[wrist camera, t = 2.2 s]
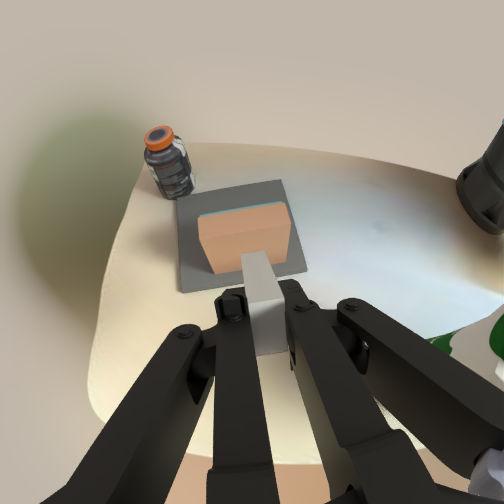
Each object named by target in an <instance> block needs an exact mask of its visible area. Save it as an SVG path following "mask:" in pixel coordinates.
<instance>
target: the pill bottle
mask: <svg viewBox="0 0 504 504" xmlns="http://www.w3.org/2000/svg"><path fill="white" fill-rule="evenodd" d="M144 141H145V143H146V146H147V147H146V149H145V152H144V158H145V161H146V163H147V165H148V167H149V169H150V171H151V173H152V175H153V177H154V179H155V182H156V184H157V186H158V188H159V190H160V192H161V194H162V195H163V196H164V197H165V198H167V199H169V200H177V198H178V197H183V196H187V195H189V194H190V193H191V192H192V190H193V189H194V187H195V177H194V174H193V171H192V168H191V165H190V162H189V159H188V155H187V152H186V149H185V146H184V143H183V141H182V140H181V138H179V137H178V136H175V135H174V134H173V131H172V129H171V128H170V127H168V126H159V127H156V128H154V129H152V130H150V131H149V132H148V133H147V134H146V136H145V139H144Z"/></svg>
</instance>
